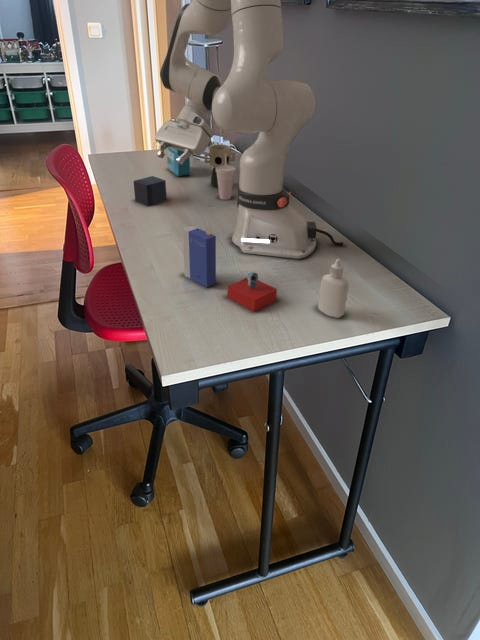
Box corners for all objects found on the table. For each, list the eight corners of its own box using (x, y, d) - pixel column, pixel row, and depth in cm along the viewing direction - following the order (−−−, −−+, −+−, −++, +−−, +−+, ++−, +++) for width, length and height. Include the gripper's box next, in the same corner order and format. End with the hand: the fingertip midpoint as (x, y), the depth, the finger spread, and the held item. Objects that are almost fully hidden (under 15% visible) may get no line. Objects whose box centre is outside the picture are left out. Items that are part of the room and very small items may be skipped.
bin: (147, 206, 155) (146, 185, 152) (135, 200, 159) (133, 180, 155) (166, 200, 160) (165, 180, 156) (153, 195, 163) (152, 175, 160)
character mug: (208, 190, 169) (207, 150, 162) (201, 183, 175) (201, 145, 168) (238, 187, 173) (239, 148, 166) (231, 180, 178) (231, 143, 171)
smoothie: (236, 195, 166) (236, 151, 158) (233, 201, 160) (234, 157, 153) (216, 194, 166) (216, 150, 158) (214, 200, 161) (213, 156, 153)
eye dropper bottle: (334, 304, 107) (342, 252, 101) (346, 317, 103) (354, 265, 96) (315, 306, 106) (322, 254, 100) (326, 320, 102) (333, 267, 95)
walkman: (216, 283, 114) (215, 234, 107) (206, 287, 112) (206, 237, 106) (193, 272, 119) (192, 224, 112) (184, 275, 117) (182, 227, 110)
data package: (167, 168, 189) (165, 135, 183) (178, 167, 191) (177, 134, 185) (178, 177, 180) (177, 143, 174) (190, 176, 182) (189, 142, 176)
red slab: (227, 297, 109) (227, 271, 105) (249, 287, 113) (250, 261, 110) (254, 311, 104) (255, 284, 101) (275, 300, 108) (277, 274, 105)
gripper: (163, 111, 162) (142, 147, 162) (207, 121, 151) (184, 160, 150) (175, 124, 168) (154, 159, 167) (218, 134, 156) (196, 172, 155)
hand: (168, 159), depth 158 cm, fingers open, 8 cm apart
